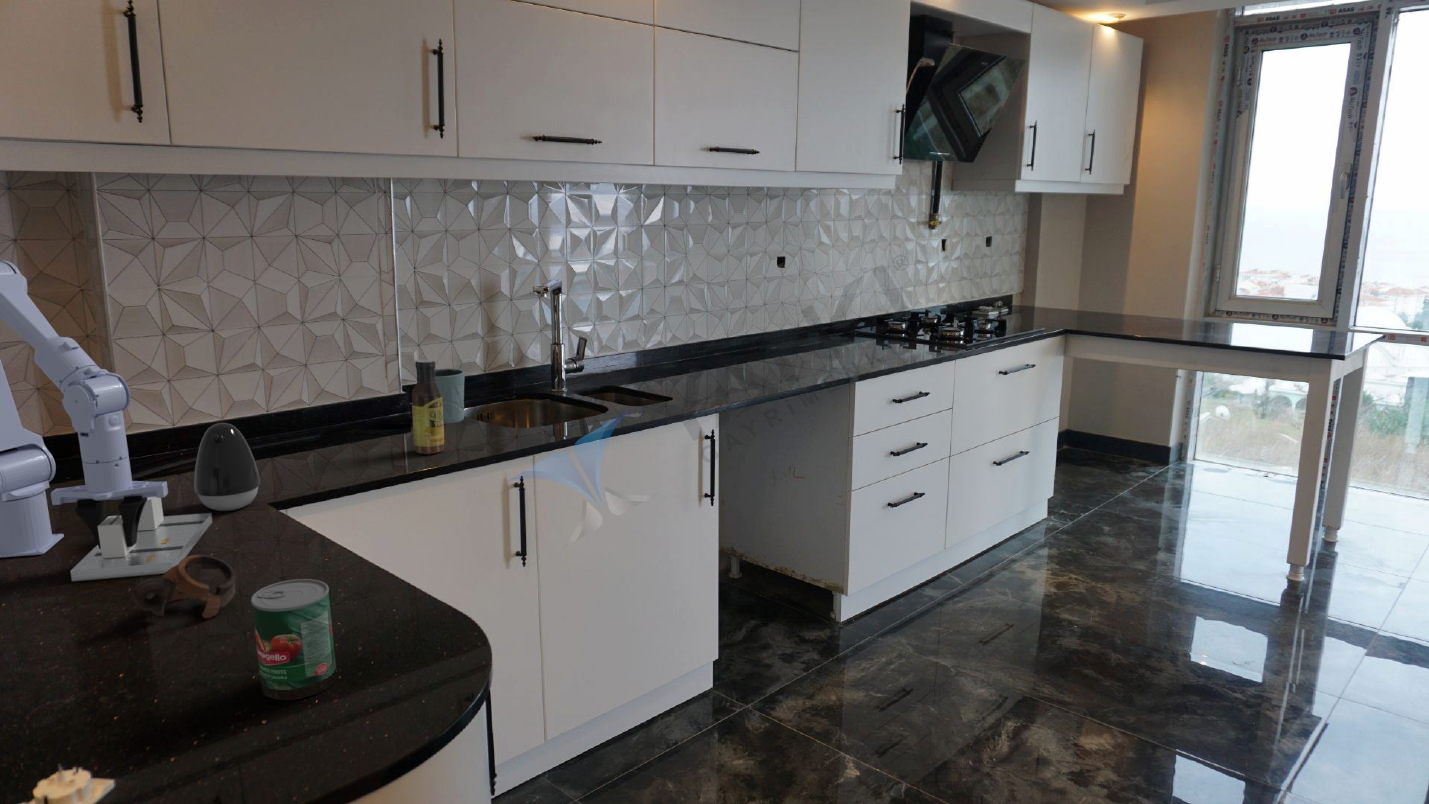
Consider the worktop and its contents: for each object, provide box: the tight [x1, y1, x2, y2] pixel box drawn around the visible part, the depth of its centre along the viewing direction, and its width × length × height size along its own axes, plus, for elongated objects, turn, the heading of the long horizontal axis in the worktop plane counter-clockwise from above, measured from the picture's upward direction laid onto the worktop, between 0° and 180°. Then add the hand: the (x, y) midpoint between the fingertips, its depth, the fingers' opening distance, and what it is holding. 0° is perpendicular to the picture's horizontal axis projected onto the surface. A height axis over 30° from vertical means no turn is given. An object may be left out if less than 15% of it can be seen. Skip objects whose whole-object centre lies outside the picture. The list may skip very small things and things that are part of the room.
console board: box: [70, 512, 213, 582], centre depth 143 cm, size 13×22×2 cm, turn 15°
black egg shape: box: [193, 422, 261, 512], centre depth 161 cm, size 10×10×15 cm
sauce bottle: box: [411, 359, 445, 455], centre depth 197 cm, size 6×6×20 cm
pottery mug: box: [131, 554, 237, 619], centre depth 121 cm, size 12×10×8 cm
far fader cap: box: [138, 497, 164, 531], centre depth 148 cm, size 3×4×5 cm
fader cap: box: [98, 514, 135, 558], centre depth 137 cm, size 3×4×5 cm
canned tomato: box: [250, 578, 337, 690], centre depth 103 cm, size 8×8×11 cm
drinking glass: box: [435, 367, 465, 425], centre depth 225 cm, size 10×10×12 cm
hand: (118, 545), depth 137 cm, fingers closed on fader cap, 3 cm apart
